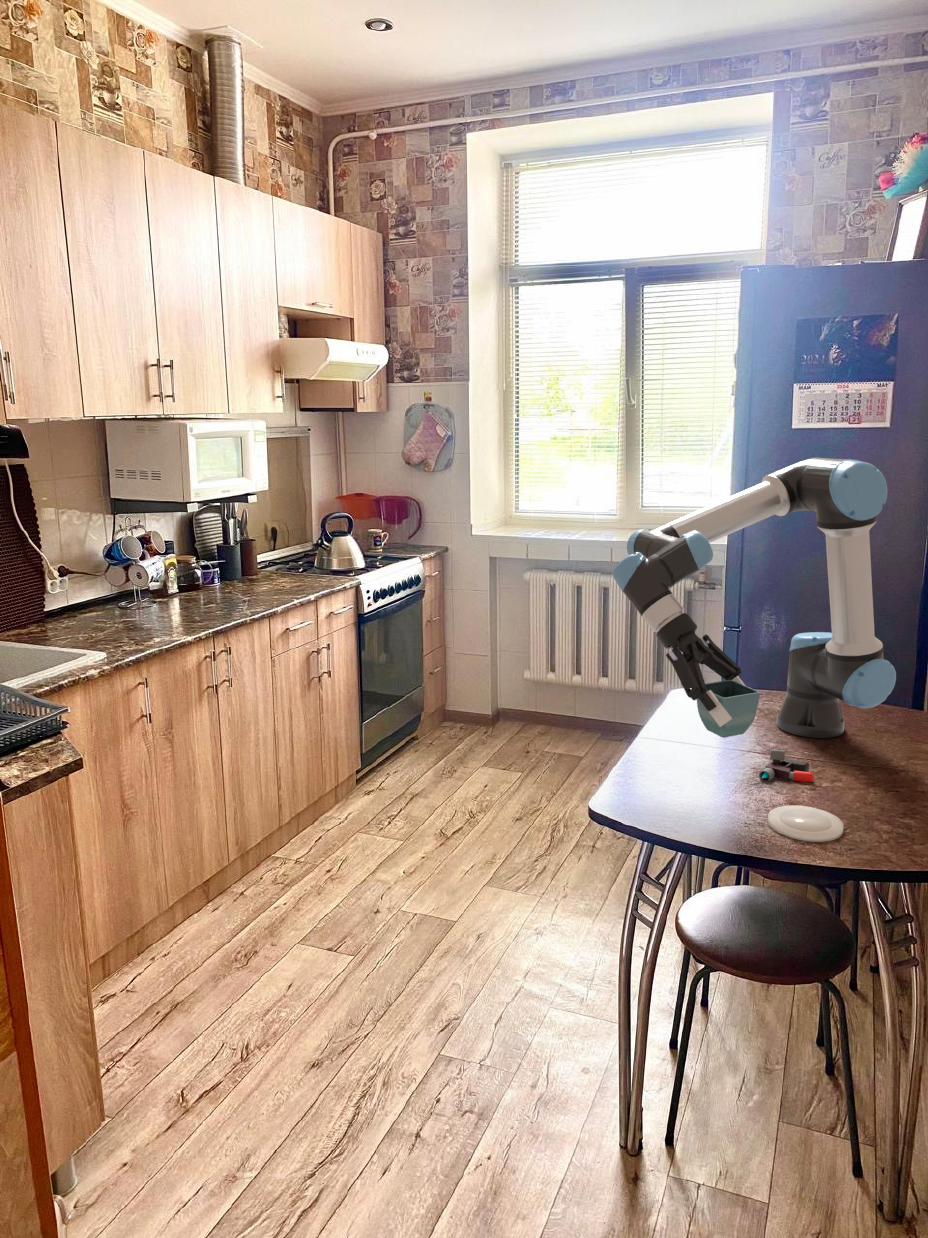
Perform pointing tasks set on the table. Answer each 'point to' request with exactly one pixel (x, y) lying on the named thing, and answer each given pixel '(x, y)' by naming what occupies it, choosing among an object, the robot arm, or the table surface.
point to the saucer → (805, 823)
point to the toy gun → (786, 768)
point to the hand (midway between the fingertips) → (740, 714)
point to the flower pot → (731, 707)
